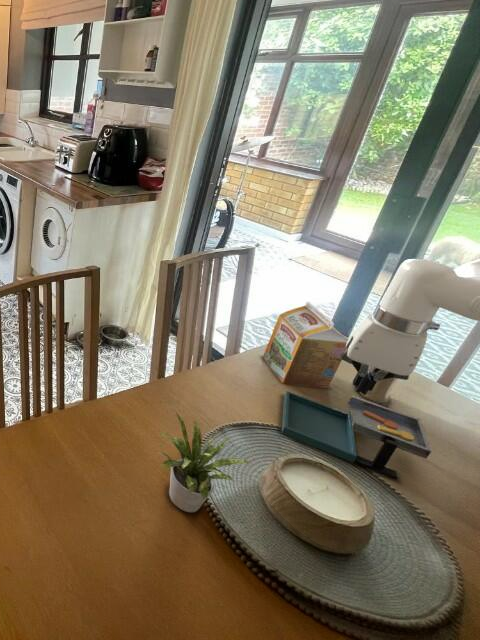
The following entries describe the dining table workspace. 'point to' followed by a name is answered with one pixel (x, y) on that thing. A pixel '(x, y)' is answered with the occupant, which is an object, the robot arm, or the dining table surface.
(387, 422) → the copper key
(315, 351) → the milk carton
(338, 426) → the tray
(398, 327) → the robot arm
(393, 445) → the dish cradle
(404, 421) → the key dish
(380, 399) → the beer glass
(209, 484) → the house plant
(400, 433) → the brass key
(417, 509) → the dining table surface
